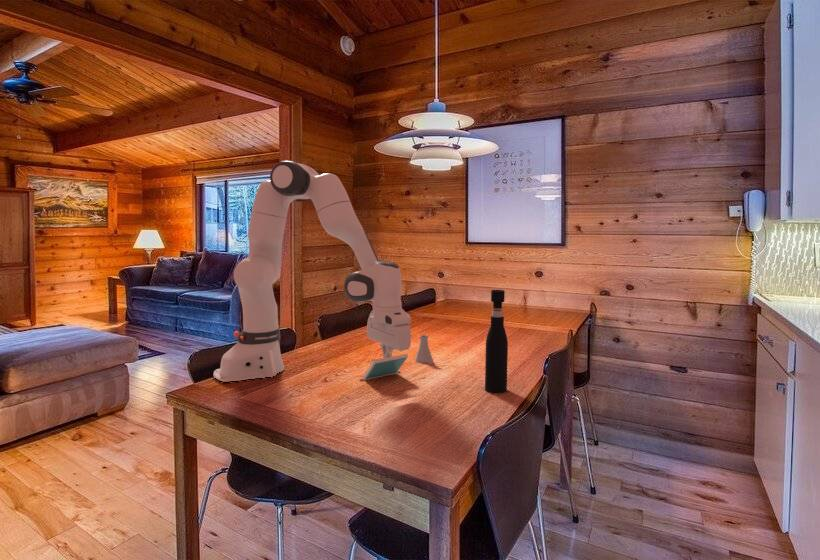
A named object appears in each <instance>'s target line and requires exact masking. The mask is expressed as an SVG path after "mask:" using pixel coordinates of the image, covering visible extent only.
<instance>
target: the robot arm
mask: <svg viewBox="0 0 820 560" xmlns="http://www.w3.org/2000/svg"><path fill="white" fill-rule="evenodd" d="M293 201H296V202H297V203H298V202H304V201H311V202H312V203H313V206H314V208H315V212H316V215H317V217H318V220H319V223H320V224H321V227H322V228H323V229H324V232H326V233H327V234H328V235H330V236H331V237H334V238H336V239H339V240H341V241H343V242H344V243H345V244H347V245H348V246H349V247H350V248H351V250H352V251H353V253H354V255H355V257H356V259H357V261H358V264H359V266H360V268H361V269H360V270H356V271H354V272H351V273H349V274H348V275H347V276H346V277H345V280H344V282H343V289H344V294H345V295H346V297H347V298H348V299H349V300H350V301H351V302H355V303H364V302H368V301H369V302H370V301H371V302H372V310H371V311H370V313H369V316H368V318H367V325H366V336H367V338H368V339H370V340H373V341H375V342H377V343H380V350H381V352H382V357H383V358H387V357H392V356H393V352H394V350H396V351H399V352H403V351H408V350H409V349H410V348H411V344H412V343H411V342H412V341H411V340H412V331H411V326H410V324H411V323H412V317H411V315H410V314H408V313H407V312H406V311H405V310H404V309H403V303H402V298H401V297H402V292H403V282H402V273H401V272H402V270H401V267H400V266H399V265H398V264H397V263H395V262H393V261H390V260H379V258H378V256H377V253H376V252H375V250H374V247H373V245H372V242H371V241H370V238H369V237H368V235H367V232H366V231H365V228H364V227H363V226H362V224H361V222H360V220H359V218H358V217H357V215H356V213H355V210H354V206H353V205H352V202H351V199H350V197H349V195H348V192H347V190H346V188H345V187H344V185H343V183H342V181H341V180H340V178H339V177H338V176H337V175H336V174H333V173H329V172H327V173H320V171H318V170H317V169H315V168H312V167H310V166H309V165H307V164H304V163H298V162H295V161H292V160H282V161H279V162H277V163H276V164H274V166H273V167H272V169H271V171H270V175H269V179H267V180H264V181H262V182H260V184H259V186H258V189H257V191H256V193H255V196H254V200H253V204H252V209H251V213H250V220H249V225H248V231H247V238H248V256H247V257H246V258H243V259H242V260H240V262H239V263H237V265H236V267H235V268H234V270H233V281H234V283H235V284H236V286H237V290H238V293H239V298H240V302H241V306H242V324H243V329H242V330H241V331H238V330H236V331H234V332H233V336H234V337H235V338H237V343H236V344H234V345H233V346H232V347H231V348H229V350H228V351H226V352H225V353H224V354H223V355H222V357H221V361H220V367H219V368H217V369H215V370H214V371H213V377H214V379H215V378H216V379H218V380H221V381H237V380H246V379H255V378H263V379H266V378H265V377H271V378H274V377H276V375H277V373H278V374H279V372H280V373H281V372H283V371H284V370H285V365H284V362H283V359H282V358H283V357H282V353H281V348H280V347H281V345H280V344H281V332H280V328H279V319H278V318H279V316H278V315H279V313H278V311H279V310H278V309H279V308H278V304H277V301H276V298H275V295H274V294H275V293H274V289H273V285H274V284H275V283H276V282H277V281H278V280H279V277H280V276H281V273H282V267H281V266H282V256H283V254H282V253H283V240H284V239H283V238H284V235H285V229H286V224H287V217H288V212H289V207H290V204H291V203H292V202H293ZM273 376H274V377H273ZM216 379H215V380H216ZM255 380H256V379H255Z"/></svg>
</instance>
